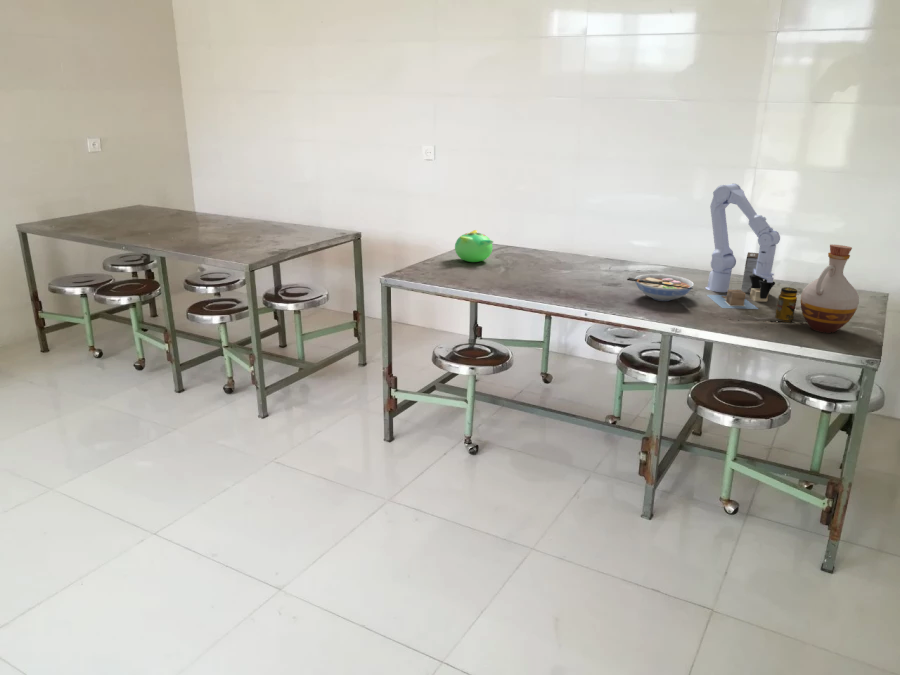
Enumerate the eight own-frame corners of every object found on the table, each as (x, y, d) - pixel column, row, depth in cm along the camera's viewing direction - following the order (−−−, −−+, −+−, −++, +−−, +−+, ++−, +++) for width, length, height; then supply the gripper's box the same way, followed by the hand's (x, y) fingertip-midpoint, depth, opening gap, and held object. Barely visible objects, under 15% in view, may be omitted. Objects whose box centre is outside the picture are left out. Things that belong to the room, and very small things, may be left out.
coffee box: (741, 288, 288) (747, 251, 282) (757, 290, 285) (764, 253, 280) (740, 294, 280) (746, 256, 274) (756, 296, 277) (763, 257, 272)
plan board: (705, 297, 274) (706, 294, 274) (740, 298, 274) (740, 295, 274) (721, 310, 257) (722, 307, 257) (758, 311, 257) (759, 308, 257)
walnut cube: (725, 301, 265) (727, 289, 263) (738, 302, 265) (740, 289, 263) (730, 305, 260) (732, 293, 259) (743, 305, 260) (745, 293, 259)
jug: (833, 342, 226) (853, 254, 216) (782, 327, 240) (798, 244, 229) (861, 331, 237) (881, 247, 227) (810, 318, 251) (827, 238, 240)
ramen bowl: (699, 297, 274) (702, 277, 272) (687, 311, 256) (690, 290, 253) (638, 287, 286) (641, 268, 283) (622, 300, 268) (624, 280, 265)
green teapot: (489, 257, 333) (491, 228, 328) (494, 266, 317) (495, 235, 312) (453, 257, 332) (454, 227, 327) (455, 265, 316) (456, 234, 311)
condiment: (796, 324, 244) (802, 292, 240) (771, 322, 245) (777, 290, 241) (789, 317, 251) (795, 286, 247) (765, 316, 252) (771, 285, 248)
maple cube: (749, 300, 272) (751, 288, 270) (761, 300, 272) (763, 288, 270) (754, 303, 267) (756, 291, 265) (766, 304, 267) (768, 291, 265)
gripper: (783, 266, 257) (777, 300, 262) (767, 258, 271) (761, 290, 275) (765, 266, 257) (758, 300, 262) (749, 257, 271) (744, 290, 275)
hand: (759, 295), depth 269 cm, fingers open, 7 cm apart
